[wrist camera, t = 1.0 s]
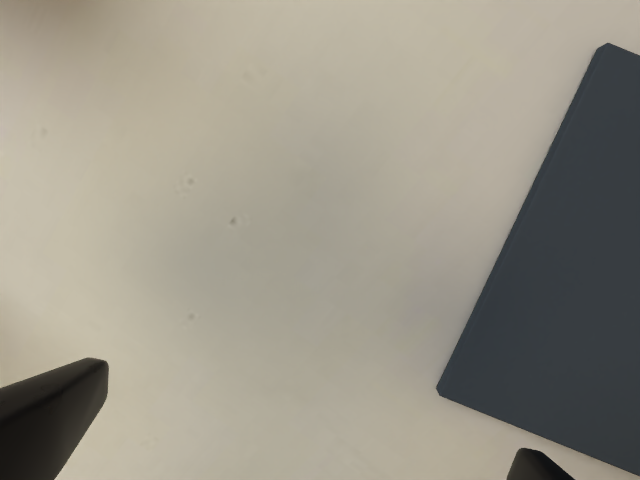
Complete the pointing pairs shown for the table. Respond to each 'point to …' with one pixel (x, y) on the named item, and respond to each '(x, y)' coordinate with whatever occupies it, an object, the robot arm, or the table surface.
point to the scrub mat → (569, 285)
